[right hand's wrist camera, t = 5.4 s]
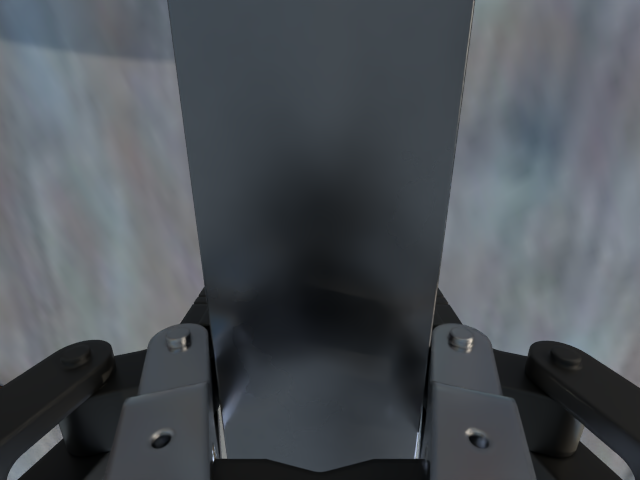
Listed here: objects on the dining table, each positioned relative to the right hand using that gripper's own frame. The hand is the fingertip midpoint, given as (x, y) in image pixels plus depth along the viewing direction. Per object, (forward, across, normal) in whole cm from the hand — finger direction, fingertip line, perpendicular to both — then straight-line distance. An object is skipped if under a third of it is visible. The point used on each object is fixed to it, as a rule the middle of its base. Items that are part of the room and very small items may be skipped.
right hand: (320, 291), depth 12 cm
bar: (+5, 0, -9) cm, 10 cm away
